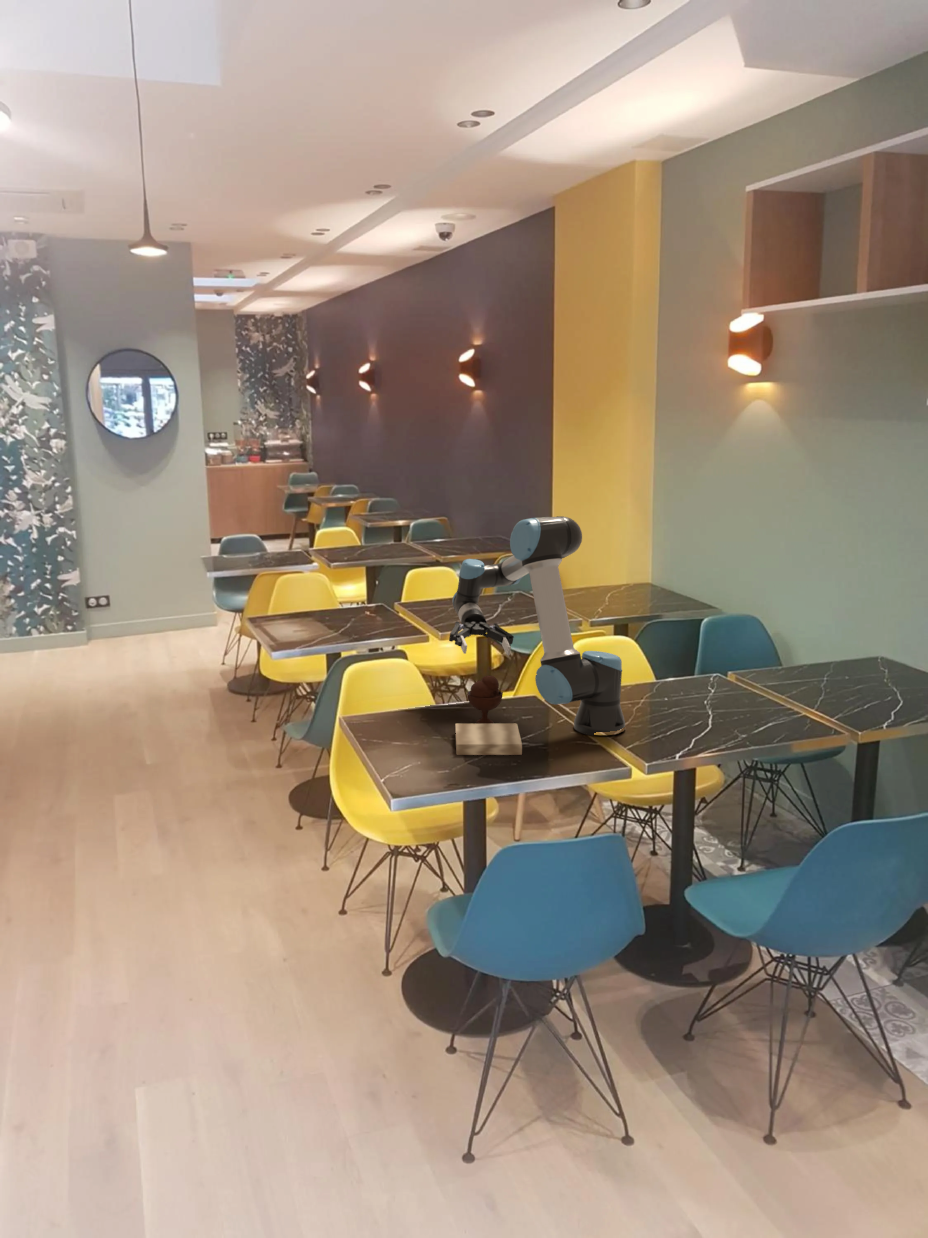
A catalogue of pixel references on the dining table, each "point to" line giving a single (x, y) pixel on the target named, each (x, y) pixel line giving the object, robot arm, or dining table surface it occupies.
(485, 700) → the ice cream bowl
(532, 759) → the dining table surface
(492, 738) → the maple stand board
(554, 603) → the robot arm
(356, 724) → the dining table surface
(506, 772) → the dining table surface
